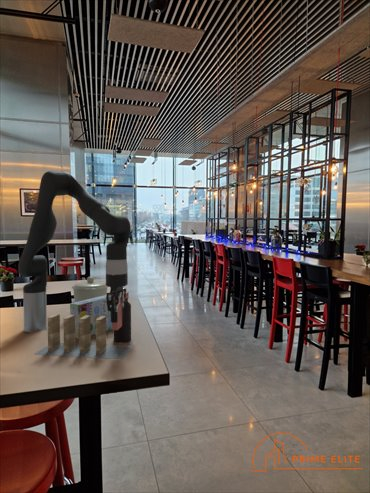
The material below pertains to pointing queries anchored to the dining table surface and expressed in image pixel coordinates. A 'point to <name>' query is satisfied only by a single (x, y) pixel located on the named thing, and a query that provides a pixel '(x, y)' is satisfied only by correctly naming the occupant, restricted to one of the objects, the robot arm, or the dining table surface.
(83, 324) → the domino
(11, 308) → the dining table surface
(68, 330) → the domino
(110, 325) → the snack box
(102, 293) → the canister
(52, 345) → the domino
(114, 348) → the board
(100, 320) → the domino
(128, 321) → the bottle
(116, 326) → the domino
